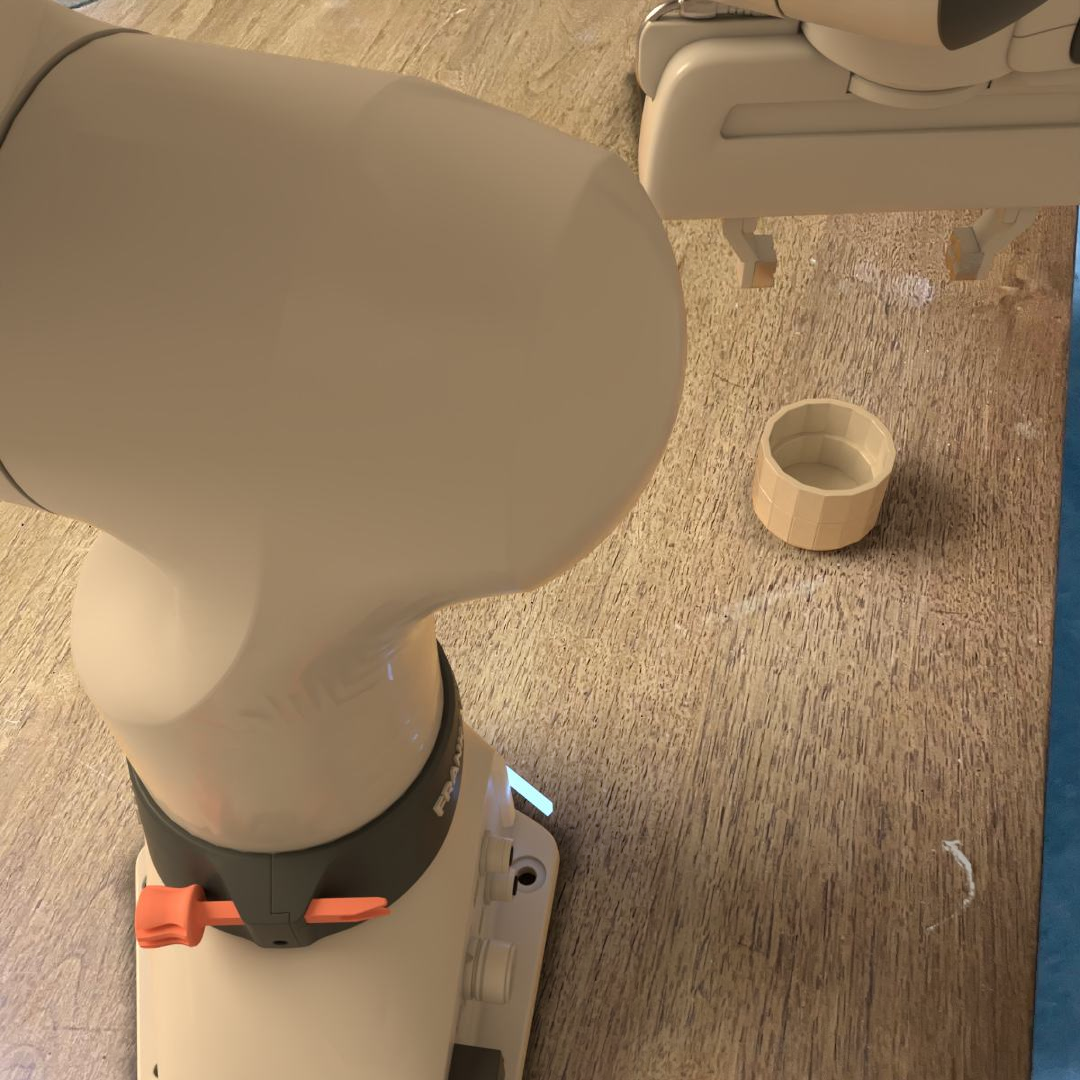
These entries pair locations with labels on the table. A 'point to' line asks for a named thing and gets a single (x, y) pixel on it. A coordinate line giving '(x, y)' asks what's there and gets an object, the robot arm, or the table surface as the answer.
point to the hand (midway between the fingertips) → (858, 275)
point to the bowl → (822, 473)
